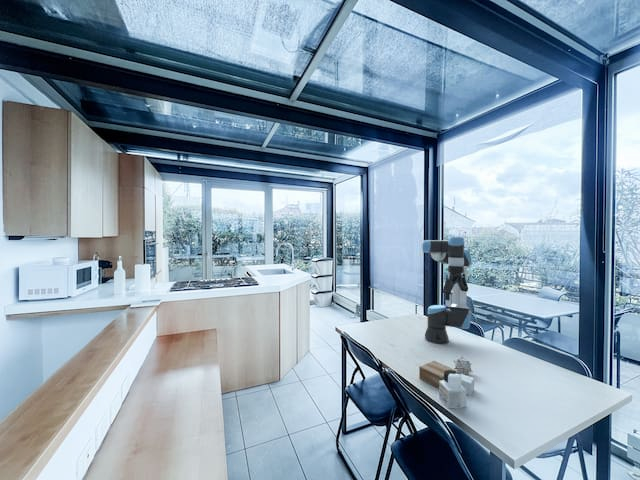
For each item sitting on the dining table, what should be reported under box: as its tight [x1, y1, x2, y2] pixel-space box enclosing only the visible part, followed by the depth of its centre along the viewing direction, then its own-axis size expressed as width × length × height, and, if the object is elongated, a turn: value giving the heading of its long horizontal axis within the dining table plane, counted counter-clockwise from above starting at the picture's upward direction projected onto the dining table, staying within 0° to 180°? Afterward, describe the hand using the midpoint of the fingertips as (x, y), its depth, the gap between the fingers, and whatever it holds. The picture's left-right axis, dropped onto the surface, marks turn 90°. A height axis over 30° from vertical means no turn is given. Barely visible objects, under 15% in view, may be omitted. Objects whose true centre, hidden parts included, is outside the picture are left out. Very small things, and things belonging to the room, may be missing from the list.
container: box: [438, 370, 467, 409], centre depth 112 cm, size 8×8×13 cm
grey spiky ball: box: [453, 356, 474, 375], centre depth 135 cm, size 9×8×10 cm
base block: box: [418, 360, 457, 390], centre depth 129 cm, size 12×12×6 cm
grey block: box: [459, 373, 475, 397], centre depth 120 cm, size 6×6×6 cm
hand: (455, 304), depth 141 cm, fingers open, 13 cm apart
